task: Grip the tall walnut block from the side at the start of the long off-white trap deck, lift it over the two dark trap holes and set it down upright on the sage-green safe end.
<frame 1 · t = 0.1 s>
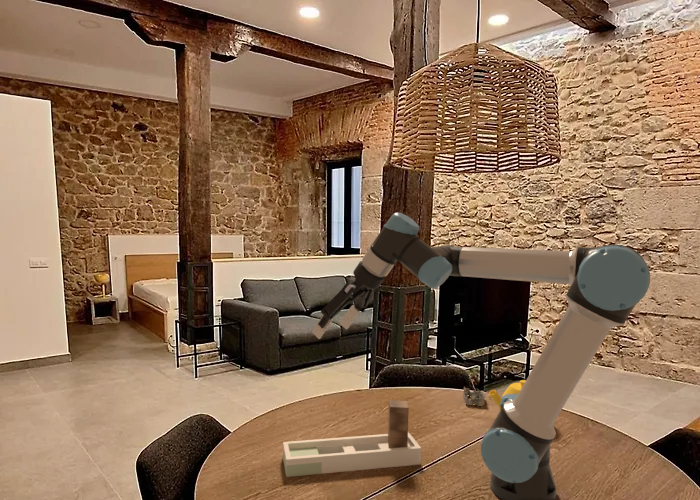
hand: (330, 330, 129), 36 cm above the table, tool tilted 35°, fingers open, 13 cm apart
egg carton: (473, 402, 179), on the table
walnut block: (397, 446, 134), point 3 cm above the table, touching trap deck
teapot: (517, 422, 160), on the table
trap deck: (351, 461, 132), on the table
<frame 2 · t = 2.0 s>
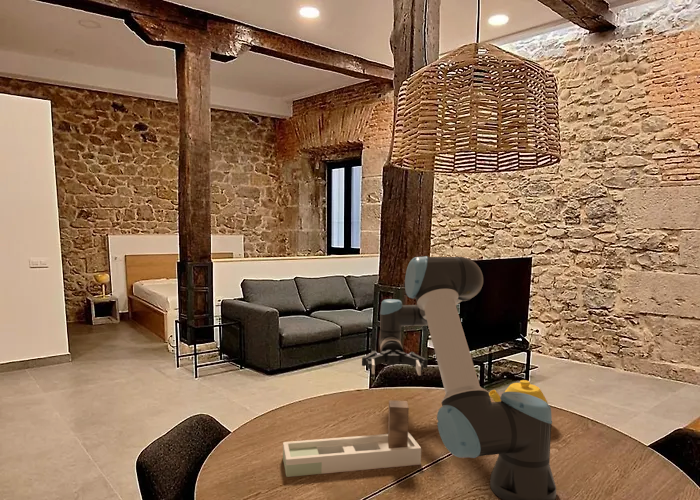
hand: (396, 370, 143), 21 cm above the table, tool horizontal, fingers open, 13 cm apart
nothing on the table moved.
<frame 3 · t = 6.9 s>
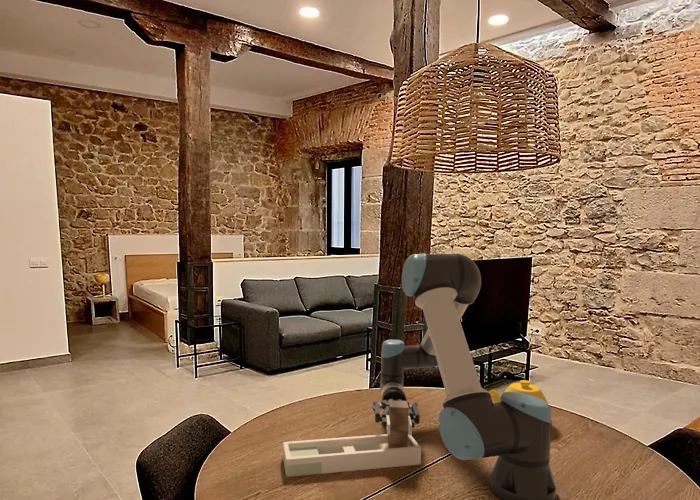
hand: (399, 429, 129), 10 cm above the table, tool horizontal, fingers closed on walnut block, 5 cm apart
walnut block: (397, 446, 134), point 3 cm above the table, touching gripper, trap deck
everything else where it was.
when the fingers open (11 cm above the table, at t = 12.7 s): walnut block drops 1 cm, resting on trap deck.
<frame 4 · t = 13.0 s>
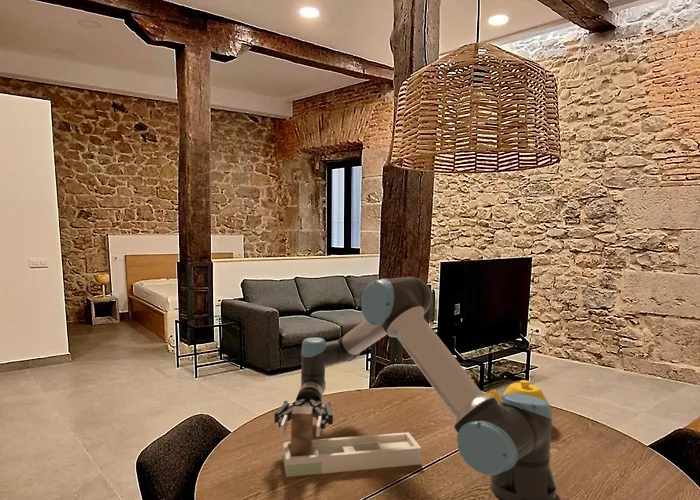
hand: (299, 430, 123), 11 cm above the table, tool horizontal, fingers open, 8 cm apart
walnut block: (301, 454, 129), point 3 cm above the table, touching trap deck
everything else where it was.
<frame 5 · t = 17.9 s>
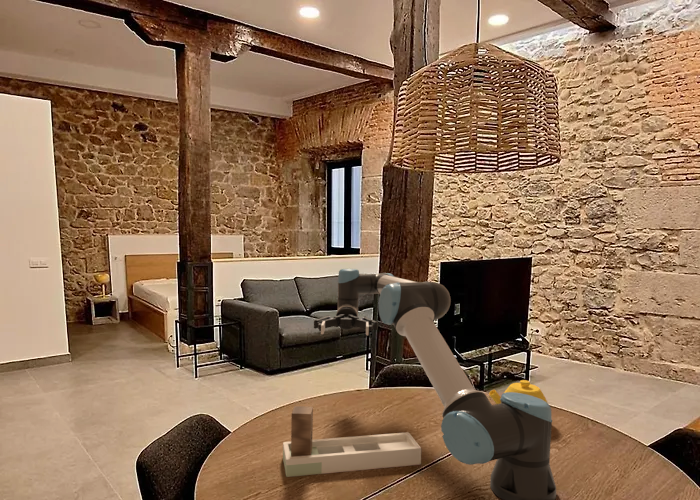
hand: (344, 330, 147), 32 cm above the table, tool horizontal, fingers open, 13 cm apart
nothing on the table moved.
at the end: walnut block inside the target area on the trap deck (0.1 cm from its centre), point 3.0 cm above the trap deck's base; walnut block tilted 0°; the gripper is holding nothing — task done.
